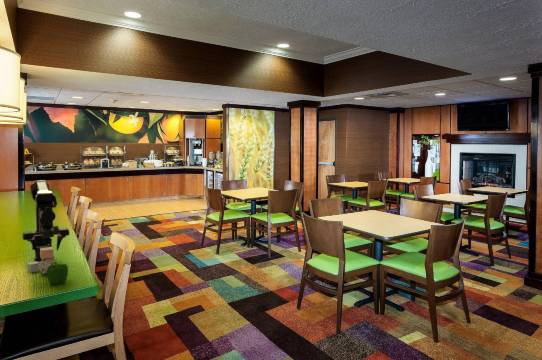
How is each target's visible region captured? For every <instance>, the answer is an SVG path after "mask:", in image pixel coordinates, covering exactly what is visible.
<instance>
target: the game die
mask: <svg viewBox="0 0 542 360" xmlns="http://www.w3.org/2000/svg"><path fill="white" fill-rule="evenodd" d="M38 262H39V263H38V264H36V265H38V267H39V269H40V271H39V272H40V275H42V274H47V269H48V267H49V266H50V265H52V264H51V263H52V262H56V259H55V256H54V257H53V258H46V259H42V260H41V261H38ZM53 265H55V264H53Z"/></svg>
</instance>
